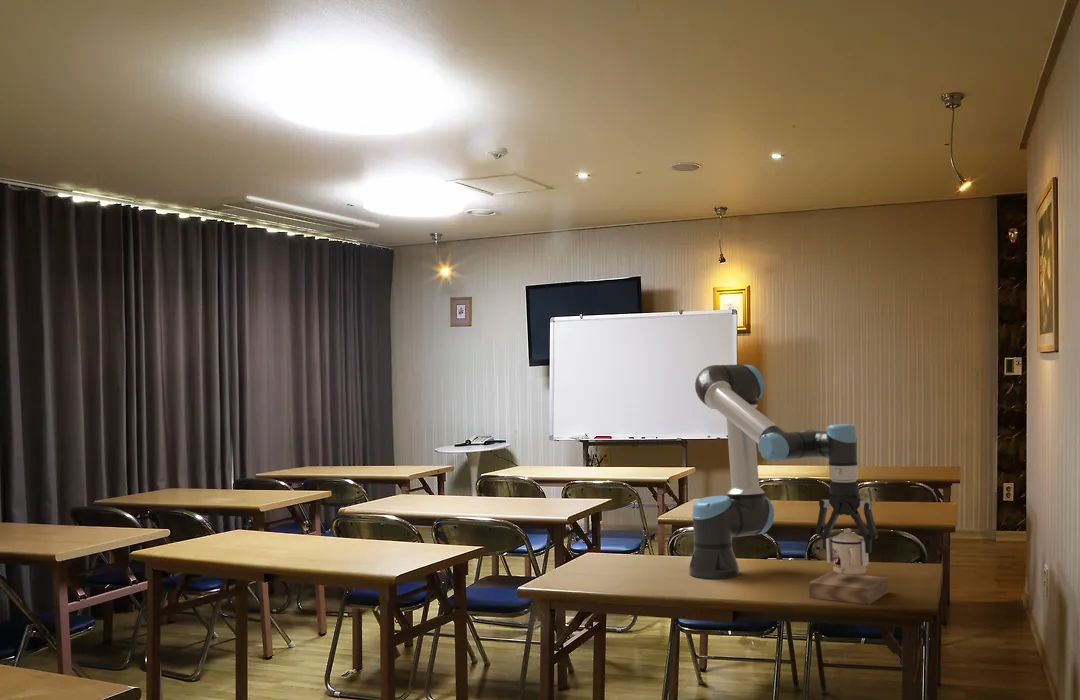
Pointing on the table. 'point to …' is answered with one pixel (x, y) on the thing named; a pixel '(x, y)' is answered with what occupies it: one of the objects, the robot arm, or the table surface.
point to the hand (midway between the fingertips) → (847, 563)
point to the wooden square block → (848, 588)
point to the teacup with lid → (847, 553)
